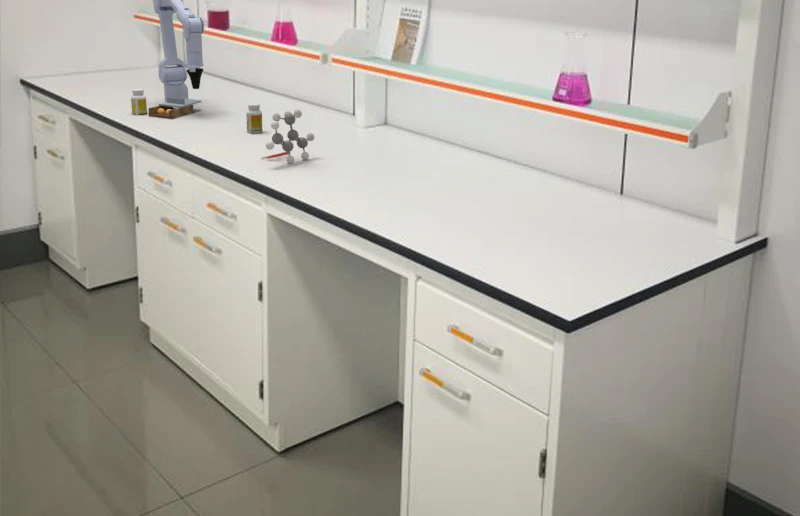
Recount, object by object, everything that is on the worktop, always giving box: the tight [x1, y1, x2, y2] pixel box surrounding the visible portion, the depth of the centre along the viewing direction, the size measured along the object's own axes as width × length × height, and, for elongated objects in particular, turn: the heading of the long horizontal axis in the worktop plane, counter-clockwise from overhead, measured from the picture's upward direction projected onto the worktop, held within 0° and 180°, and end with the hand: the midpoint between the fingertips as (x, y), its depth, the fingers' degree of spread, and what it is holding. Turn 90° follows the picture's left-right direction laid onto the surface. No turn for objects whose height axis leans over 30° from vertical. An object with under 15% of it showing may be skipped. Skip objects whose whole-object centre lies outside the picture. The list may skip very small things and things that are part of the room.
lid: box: [158, 97, 202, 108], centre depth 339 cm, size 14×10×3 cm
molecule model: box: [260, 109, 315, 165], centre depth 276 cm, size 20×16×16 cm
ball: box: [157, 108, 165, 115], centre depth 332 cm, size 3×3×3 cm
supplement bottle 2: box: [245, 103, 263, 134], centre depth 313 cm, size 5×5×10 cm
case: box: [147, 104, 194, 120], centre depth 335 cm, size 14×10×4 cm
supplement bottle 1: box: [130, 88, 148, 116], centre depth 333 cm, size 5×5×10 cm
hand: (196, 88), depth 333 cm, fingers closed
